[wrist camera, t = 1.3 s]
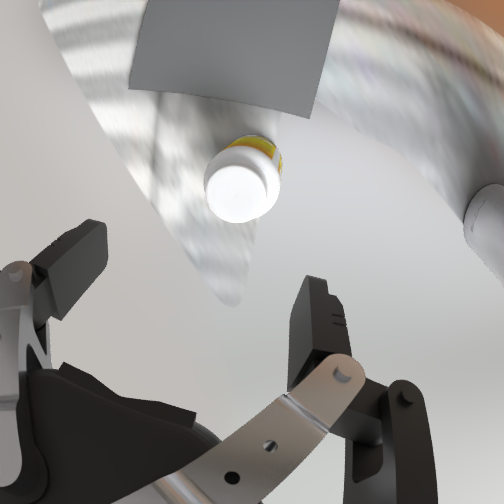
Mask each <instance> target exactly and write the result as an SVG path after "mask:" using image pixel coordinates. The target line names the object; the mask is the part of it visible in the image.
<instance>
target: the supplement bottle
mask: <svg viewBox="0 0 504 504" xmlns="http://www.w3.org/2000/svg"><path fill="white" fill-rule="evenodd" d="M281 174H282V158H281V154H280V152H279V150H278V148H277V147H276V146H275V144H274V143H273V142H271V141H270V140H269V139H267V138H265V137H262V136H259V135H246V136H243V137H240V138H238V139H236V140H235V141H233V142H232V143H231V144H229V145H228V146H227V147H226V148H224V149H223V150H222V151H221V152H219V153H218V154H217V155H216V156H215V157H214V158H213V159H212V160H211V161H210V163H209V165H208V166H207V168H206V171H205V175H204V189H205V193H206V200H207V203H208V205H209V207H210V209H211V210H212V211H213V212H214V214H215V215H217V216H218V217H219V218H221V219H223V220H225V221H228V222H232V223H242V222H246V221H249V220H251V219H253V218H256V217H259V216H261V215H263V214H264V213H266V212H267V211H268V210H269V209H270V208H271V207H272V206H273V205H274V203H275V201H276V200H277V197H278V195H279V190H280V184H281Z"/></svg>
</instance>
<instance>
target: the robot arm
mask: <svg viewBox="0 0 504 504" xmlns="http://www.w3.org/2000/svg"><path fill="white" fill-rule="evenodd" d="M464 236H465V239H466V242H467V244H468V245H469V247H470V248H471V249H472V250H473V251H474V252H475V253H476V254H477V255H478V257H479V258H480V259H481V260H482V261H483V262H484V264H485V265H486V266H487V267H488V268H489V270H490V271H491V272H492V273H493V274H494V275H495V277H496V278H497V279H498V280H499V282H500V283H501V284H502V285H503V286H504V186H503V185H500V184H490V185H487V186H485V187H484V188H482V189H481V190H480V191H479V192H478V193H477V194H476V195H475V196H474V198H473V199H472V200H471V202H470V204H469V206H468V209H467V212H466V214H465V219H464ZM107 261H108V244H107V227H106V224H105V223H103V222H99V221H95V220H92V219H87V220H86V221H84V222H83V223H82V224H81V225H79V226H78V227H77V228H74V229H72V230H69V231H67V232H65V233H64V234H63V235H61V236H60V237H59V238H58V239H57V240H55V241H54V242H52V243H51V245H49V246H48V247H47V248H45V249H44V250H43V251H42V252H40V253H39V254H38V255H37V256H36V257H35V258H34V259H32V260H31V261H30V262H29V263H28V262H26V261H15V262H12V263H10V264H8V265H7V266H5V267H4V268H3V270H2V271H0V504H263V503H262V501H261V500H262V499H264V498H265V497H266V496H267V495H268V494H269V493H270V492H272V491H273V490H274V489H275V488H276V487H277V486H278V485H279V484H280V483H281V482H282V481H283V480H284V479H285V478H286V477H287V476H289V474H291V473H292V472H293V470H295V468H297V466H298V465H299V464H300V463H301V462H302V461H303V460H304V459H305V458H306V457H307V456H308V455H309V454H310V453H311V452H312V451H313V450H314V448H315V447H316V446H317V445H318V444H319V443H320V442H321V440H322V439H323V438H324V437H325V436H326V435H327V433H328V432H330V433H333V434H335V435H338V436H340V437H343V438H345V478H344V495H343V496H344V497H343V504H438V492H437V480H436V470H435V462H434V455H433V447H432V440H431V435H430V428H429V422H428V417H427V412H426V407H425V402H424V398H423V395H422V393H421V391H420V390H419V389H418V387H417V386H415V385H414V384H413V383H411V382H409V381H407V380H396V381H394V382H393V383H392V384H391V385H390V386H389V387H387V386H384V385H382V384H379V383H377V382H374V381H372V380H370V379H368V378H366V376H365V372H364V369H363V367H362V366H361V365H360V363H359V362H358V361H356V360H355V359H354V358H352V353H351V347H350V341H349V336H348V330H347V327H346V319H345V314H344V310H343V305H342V304H341V302H340V301H339V299H338V298H337V297H336V296H334V295H330V294H329V293H328V286H327V281H326V280H325V279H321V278H317V277H313V276H309V275H307V276H306V277H305V279H304V281H303V283H302V286H301V288H300V291H299V293H298V296H297V298H296V301H295V304H294V305H293V309H292V312H291V317H290V330H289V359H288V383H287V392H290V393H288V394H287V395H285V394H283V395H281V396H280V397H278V398H277V399H276V400H274V401H273V402H272V403H271V404H270V405H268V406H267V407H266V408H265V409H264V410H262V411H261V412H260V413H259V414H257V415H256V416H255V417H254V418H252V419H251V420H250V421H248V422H247V423H246V424H245V425H244V426H242V427H241V428H239V429H238V430H237V431H235V432H234V433H233V434H232V435H230V436H229V437H227V438H226V439H225V440H223V441H221V440H220V439H219V438H218V437H217V436H216V435H215V434H213V433H212V432H211V431H210V430H208V429H207V428H205V427H204V426H202V425H200V424H198V423H197V422H195V419H196V412H192V411H189V410H185V409H182V408H179V407H175V406H172V405H169V404H166V403H162V402H159V401H148V400H141V399H133V398H126V397H121V396H119V395H117V394H115V393H114V392H113V391H111V390H110V389H109V388H108V387H106V386H105V385H104V384H102V383H101V382H100V381H98V380H97V379H96V378H94V377H93V376H92V375H90V374H88V373H86V372H84V371H81V370H80V369H77V368H75V367H73V366H71V365H69V364H67V363H65V362H63V364H62V365H61V367H60V368H59V370H57V369H53V368H52V364H51V353H50V334H49V323H48V319H49V318H50V316H52V317H54V318H56V319H58V320H60V321H61V320H62V319H63V318H64V317H65V315H66V314H67V313H68V312H69V310H70V309H71V308H72V307H73V306H74V304H75V303H76V302H77V301H78V299H79V298H80V297H81V296H82V294H83V293H84V292H85V291H86V290H87V289H88V288H89V286H90V285H91V284H92V283H93V282H94V281H95V279H96V278H97V277H98V276H99V275H100V274H101V273H102V271H103V270H104V269H105V267H106V265H107Z"/></svg>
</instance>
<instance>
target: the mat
mask: <svg viewBox="0 0 504 504" xmlns="http://www.w3.org/2000/svg"><path fill="white" fill-rule="evenodd" d="M339 1H340V0H149V1H148V4H147V8H146V11H145V15H144V18H143V22H142V26H141V30H140V34H139V38H138V42H137V47H136V51H135V56H134V61H133V66H132V71H131V77H130V83H129V89H134V90H150V91H162V92H173V93H182V94H190V95H197V96H205V97H211V98H217V99H223V100H229V101H235V102H240V103H245V104H250V105H255V106H259V107H264V108H268V109H273V110H277V111H281V112H285V113H289V114H293V115H296V116H300V117H304V118H307V119H310V115H311V111H312V107H313V104H314V100H315V96H316V92H317V89H318V85H319V81H320V77H321V73H322V69H323V65H324V62H325V58H326V54H327V50H328V46H329V42H330V38H331V34H332V30H333V26H334V22H335V18H336V13H337V9H338V5H339Z"/></svg>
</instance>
